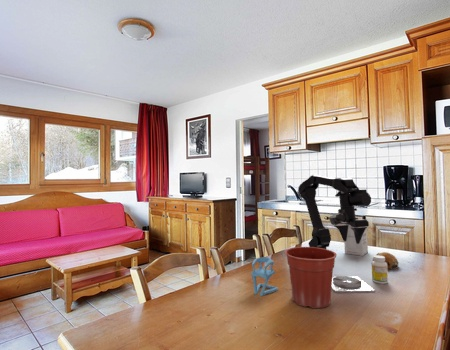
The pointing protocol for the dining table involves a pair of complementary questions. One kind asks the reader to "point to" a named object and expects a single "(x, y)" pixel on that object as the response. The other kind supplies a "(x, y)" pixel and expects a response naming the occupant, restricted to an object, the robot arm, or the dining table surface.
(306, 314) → the dining table surface
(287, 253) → the flower pot
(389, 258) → the bread roll
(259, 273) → the chair
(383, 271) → the supplement bottle
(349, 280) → the flange
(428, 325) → the dining table surface
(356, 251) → the supplement box
